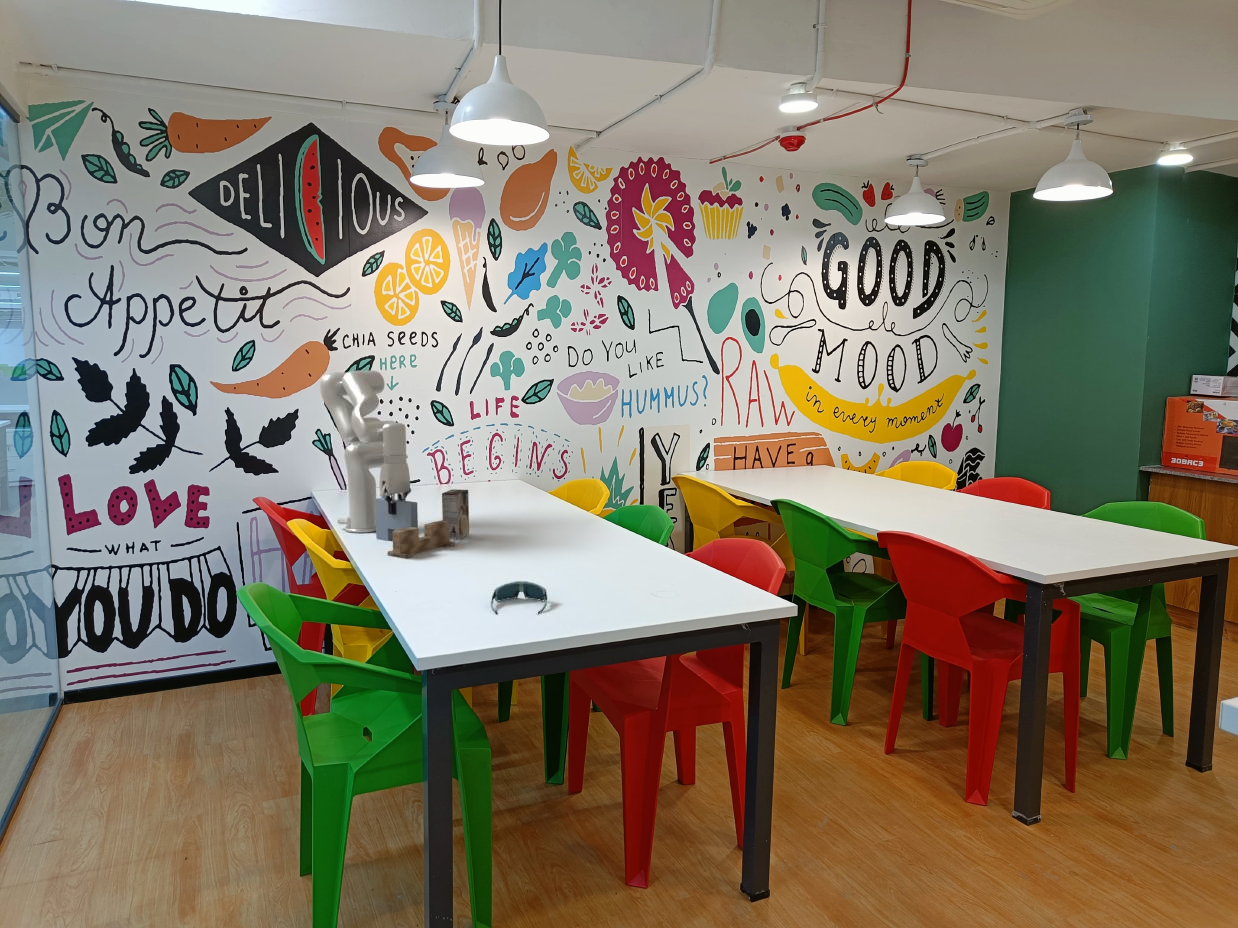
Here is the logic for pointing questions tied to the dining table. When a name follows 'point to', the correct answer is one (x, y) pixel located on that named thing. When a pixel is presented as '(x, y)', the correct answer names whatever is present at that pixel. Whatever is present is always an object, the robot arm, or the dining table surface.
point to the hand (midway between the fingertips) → (396, 512)
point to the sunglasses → (520, 586)
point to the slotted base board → (420, 539)
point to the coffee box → (456, 512)
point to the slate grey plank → (394, 517)
